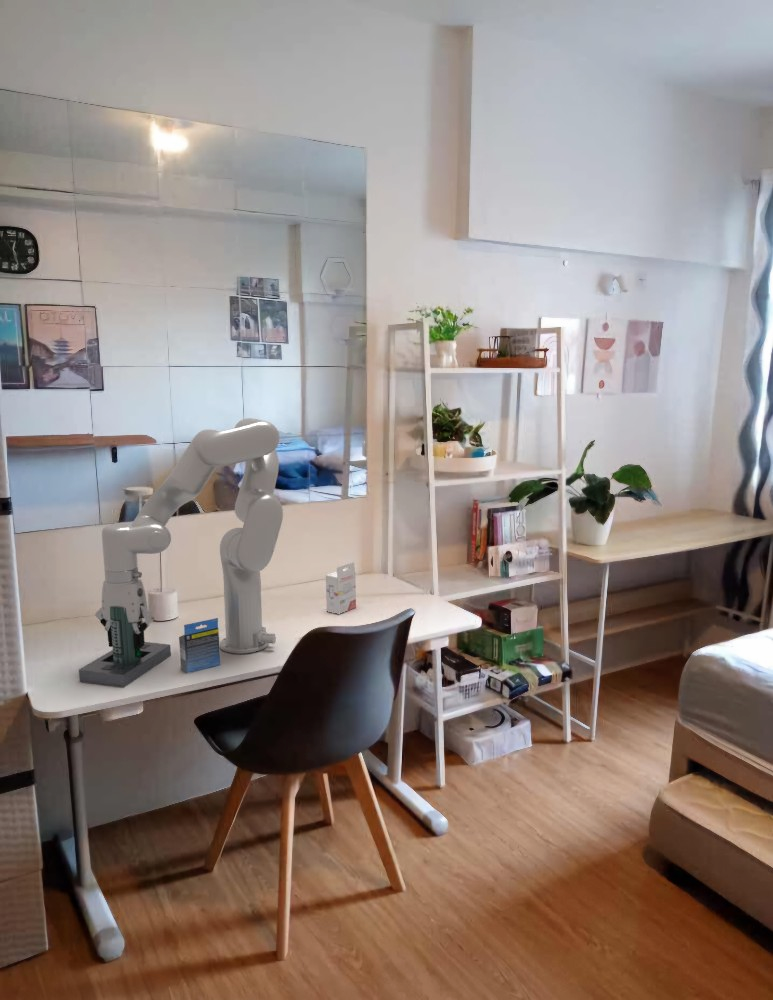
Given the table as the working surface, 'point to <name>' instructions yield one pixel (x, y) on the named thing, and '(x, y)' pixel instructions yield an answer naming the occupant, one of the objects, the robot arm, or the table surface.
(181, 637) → the label tape cartridge
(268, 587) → the table surface
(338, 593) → the ink cartridge box
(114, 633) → the can
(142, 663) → the rail plate
